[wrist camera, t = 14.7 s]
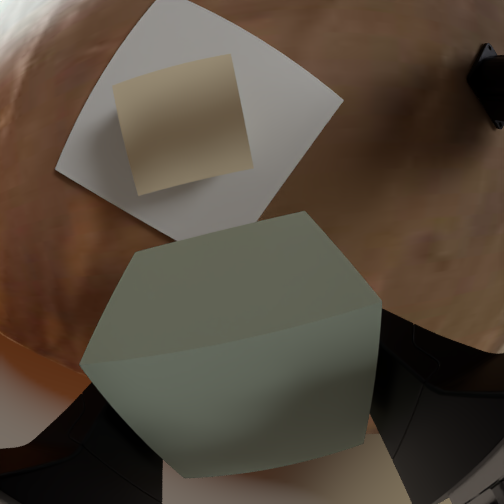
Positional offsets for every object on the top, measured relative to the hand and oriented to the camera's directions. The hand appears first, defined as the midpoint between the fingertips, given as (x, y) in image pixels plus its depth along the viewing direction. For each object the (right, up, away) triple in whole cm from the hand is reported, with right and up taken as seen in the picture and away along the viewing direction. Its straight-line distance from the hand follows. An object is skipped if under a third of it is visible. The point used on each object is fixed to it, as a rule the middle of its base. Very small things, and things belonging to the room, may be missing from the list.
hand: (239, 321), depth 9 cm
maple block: (-3, +10, +7) cm, 13 cm away
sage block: (0, 0, +1) cm, 1 cm away
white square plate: (-3, +10, +8) cm, 13 cm away
